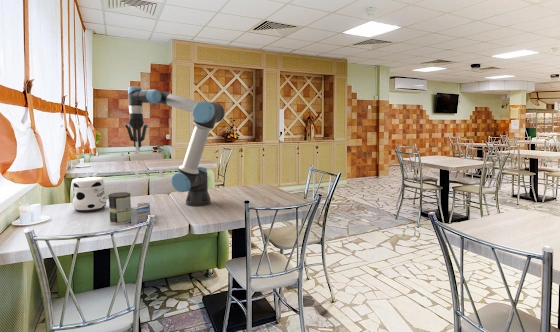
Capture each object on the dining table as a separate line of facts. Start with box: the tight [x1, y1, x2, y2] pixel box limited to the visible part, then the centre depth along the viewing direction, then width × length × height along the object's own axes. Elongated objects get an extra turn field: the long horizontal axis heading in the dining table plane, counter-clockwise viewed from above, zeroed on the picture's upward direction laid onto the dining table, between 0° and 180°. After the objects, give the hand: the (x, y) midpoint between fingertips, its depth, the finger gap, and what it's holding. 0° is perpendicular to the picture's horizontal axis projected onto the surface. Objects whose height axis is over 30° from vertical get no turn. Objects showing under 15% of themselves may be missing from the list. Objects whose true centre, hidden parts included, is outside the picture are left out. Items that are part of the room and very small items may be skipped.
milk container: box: [72, 176, 108, 212], centre depth 200 cm, size 17×17×18 cm
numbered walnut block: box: [137, 202, 151, 207], centre depth 185 cm, size 6×6×7 cm
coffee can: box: [107, 191, 132, 225], centre depth 176 cm, size 10×10×14 cm
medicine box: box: [130, 205, 151, 226], centre depth 172 cm, size 8×4×9 cm, turn 148°
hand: (138, 152), depth 209 cm, fingers closed
